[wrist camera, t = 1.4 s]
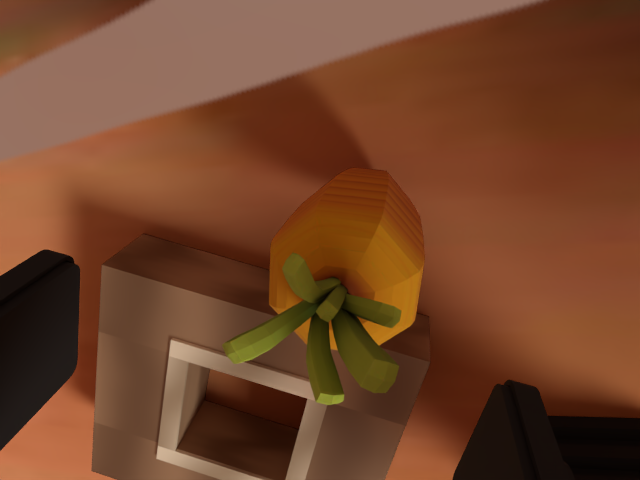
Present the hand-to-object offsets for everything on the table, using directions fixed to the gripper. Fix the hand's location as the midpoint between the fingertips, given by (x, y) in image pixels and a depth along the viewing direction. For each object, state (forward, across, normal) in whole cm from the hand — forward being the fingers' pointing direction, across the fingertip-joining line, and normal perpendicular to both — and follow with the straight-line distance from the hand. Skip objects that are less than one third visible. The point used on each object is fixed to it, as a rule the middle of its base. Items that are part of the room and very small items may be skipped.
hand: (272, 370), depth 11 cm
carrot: (+15, -1, 0) cm, 15 cm away
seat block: (+15, +2, +13) cm, 20 cm away
